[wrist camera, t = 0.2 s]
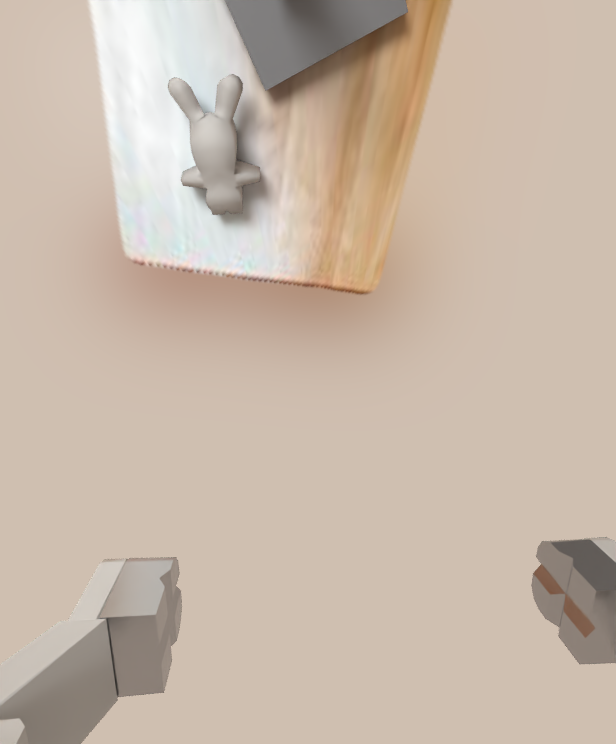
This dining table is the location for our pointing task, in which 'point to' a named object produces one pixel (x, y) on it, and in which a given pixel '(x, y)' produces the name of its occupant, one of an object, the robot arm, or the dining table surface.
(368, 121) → the dining table surface
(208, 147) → the bunny figurine
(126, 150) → the dining table surface
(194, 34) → the dining table surface
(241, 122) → the dining table surface
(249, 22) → the breaker panel
